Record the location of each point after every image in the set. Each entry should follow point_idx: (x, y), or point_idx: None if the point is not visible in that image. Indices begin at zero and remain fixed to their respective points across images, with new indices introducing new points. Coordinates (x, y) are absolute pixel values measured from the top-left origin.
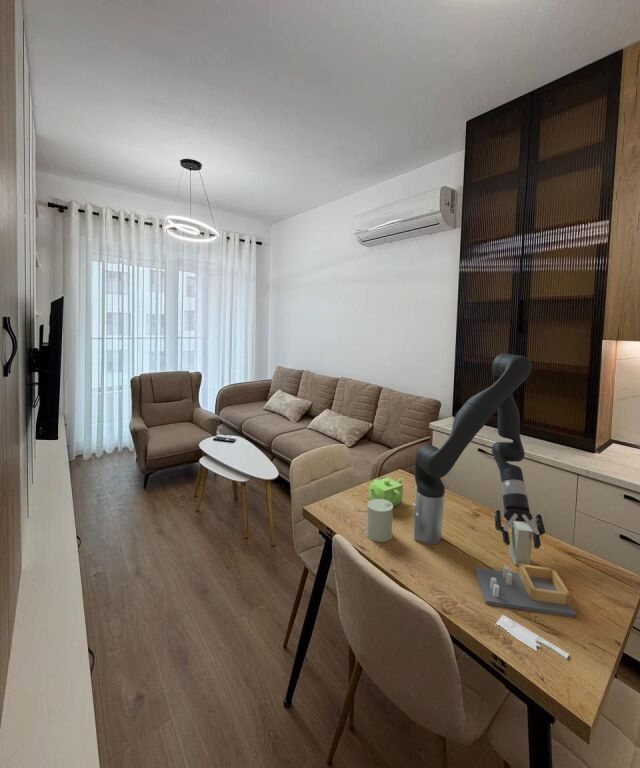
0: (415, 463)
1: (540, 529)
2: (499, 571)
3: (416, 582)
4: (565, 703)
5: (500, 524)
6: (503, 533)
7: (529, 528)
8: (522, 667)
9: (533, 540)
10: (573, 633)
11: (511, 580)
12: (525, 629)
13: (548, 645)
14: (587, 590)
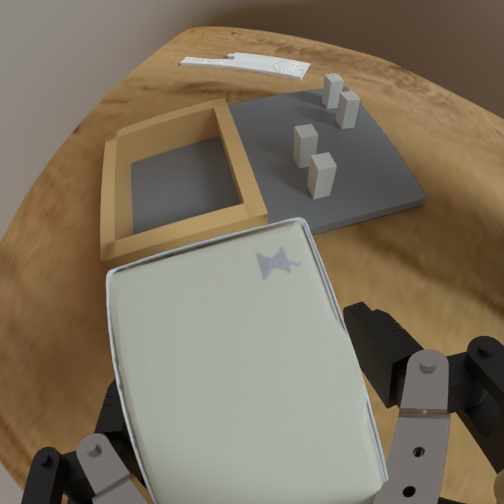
0: None
1: (58, 479)
2: (346, 211)
3: (481, 116)
4: (210, 27)
5: (490, 368)
6: (419, 345)
7: (138, 346)
8: (259, 33)
9: None
10: (150, 103)
11: (294, 142)
12: (251, 66)
13: (212, 59)
14: (42, 281)
